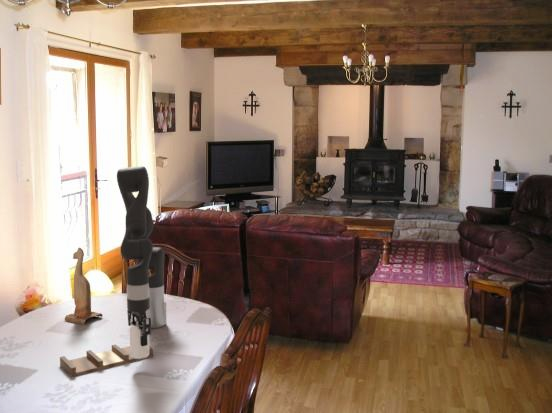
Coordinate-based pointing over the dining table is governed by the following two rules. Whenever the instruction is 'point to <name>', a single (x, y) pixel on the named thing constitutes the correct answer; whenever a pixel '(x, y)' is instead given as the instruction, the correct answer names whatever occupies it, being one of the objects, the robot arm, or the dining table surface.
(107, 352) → the notch rack
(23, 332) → the dining table surface
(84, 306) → the bird sculpture
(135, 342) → the can
